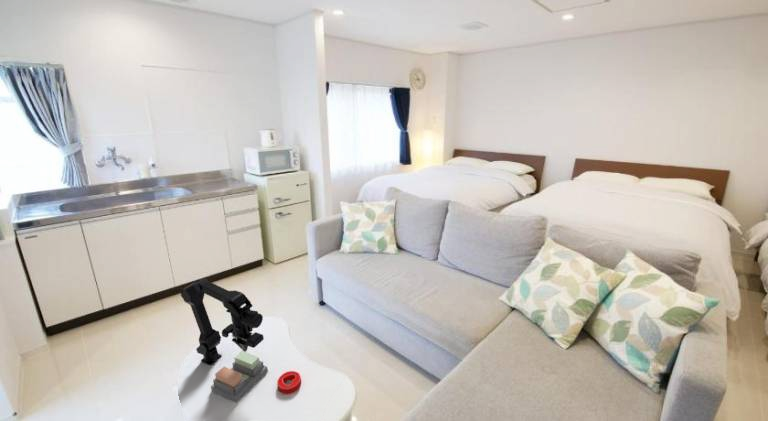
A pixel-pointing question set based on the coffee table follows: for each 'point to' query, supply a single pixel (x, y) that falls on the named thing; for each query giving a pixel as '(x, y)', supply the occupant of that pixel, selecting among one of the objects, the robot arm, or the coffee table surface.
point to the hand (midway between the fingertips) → (245, 351)
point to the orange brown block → (228, 377)
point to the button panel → (244, 386)
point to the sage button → (247, 360)
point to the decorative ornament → (286, 377)
